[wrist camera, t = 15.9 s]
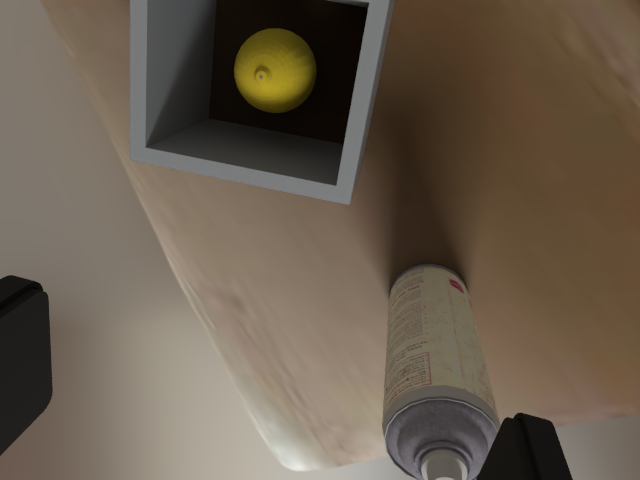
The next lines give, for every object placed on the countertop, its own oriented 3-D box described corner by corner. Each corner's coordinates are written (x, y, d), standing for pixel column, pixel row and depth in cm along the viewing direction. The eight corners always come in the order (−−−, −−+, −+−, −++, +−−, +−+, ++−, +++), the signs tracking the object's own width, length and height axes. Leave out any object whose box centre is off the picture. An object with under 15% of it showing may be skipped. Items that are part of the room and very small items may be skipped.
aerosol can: (433, 344, 46) (453, 553, 27) (373, 302, 45) (353, 489, 27) (485, 294, 43) (545, 489, 25) (422, 248, 42) (437, 415, 24)
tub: (395, -4, 35) (392, -16, 25) (363, 160, 40) (349, 204, 30) (205, -36, 36) (130, -60, 26) (196, 128, 41) (129, 160, 31)
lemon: (250, 29, 37) (213, 29, 30) (323, 27, 37) (303, 27, 29) (255, 104, 40) (222, 121, 32) (324, 104, 39) (306, 122, 32)
